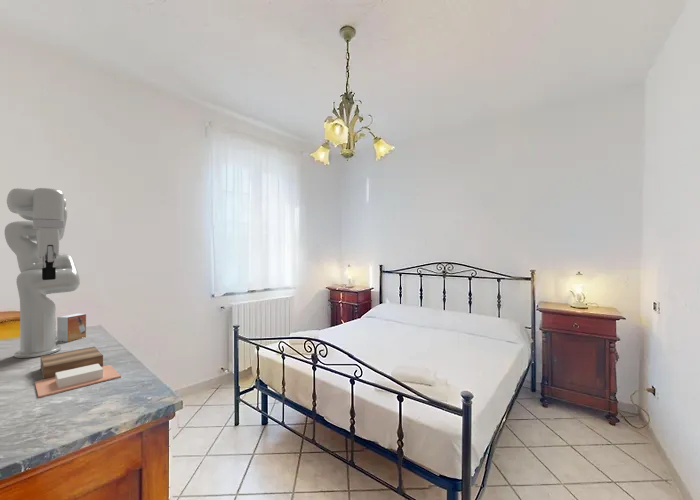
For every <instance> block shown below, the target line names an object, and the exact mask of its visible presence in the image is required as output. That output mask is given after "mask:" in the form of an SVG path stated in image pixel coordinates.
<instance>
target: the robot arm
mask: <svg viewBox="0 0 700 500" xmlns="http://www.w3.org/2000/svg"><path fill="white" fill-rule="evenodd" d="M6 206H7V208H8V210H9V211H10V212H11V213H13V214H16V215H19V216H20V217H21V218H22V219H24V220H18V221H13V222H9V223H8V224H6V226H5V228H4V238H5V242H6V244H7V246H8V247H9V248H10V250H11V251H12V252H13V253H14V254H15V255H16V256H15V257H16V260H17V265H18V269H19V271H20V273H19V274H18V275H17V277H16V286H17V292H18V297H19V313H20V314H19V315H20V317H19V324H20V326H19V330H20V331H19V334H20V335H19V337H20V338H19V339H20V340H19V341H20V342H19V344H20V345H19V347H20V349H19V350H17V351H15V352H14V353H13V356H14V358H16V359H28V358H37V357H41V356H46V355H51V354H55V353H56V352H57V353H58V352H59V351H61V350H62V345H60V344H56V343H57V342H56V341H57V336H56V331H57V330H56V329H57V328H56V325H57V323H56V319H57V318H56V303H55V302H54V301H53V300H52V299H50V298H49V297H47V295H51V294H63V293H71V292H75V291H76V290H77V289H78V288H79V287H80V283H81V281H80V279H81V278H80V275H79V272H78V270H77V267H76V264H75V262H74V259H73V257H72V256H71V255H69V254H67V253H60V241H62V240H63V237H64V235H65V234H64V233H65V229H66V224H67V220H68V210H67V207H66V206H67V201H66V198H65V197H64V192H62V190H59V189H54V188H47V187H38V188H35V189H30V188H29V189H28V188H18V187H17V188H12V189H11V190H10V191H9V192H8V194H7V196H6Z"/></svg>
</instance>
